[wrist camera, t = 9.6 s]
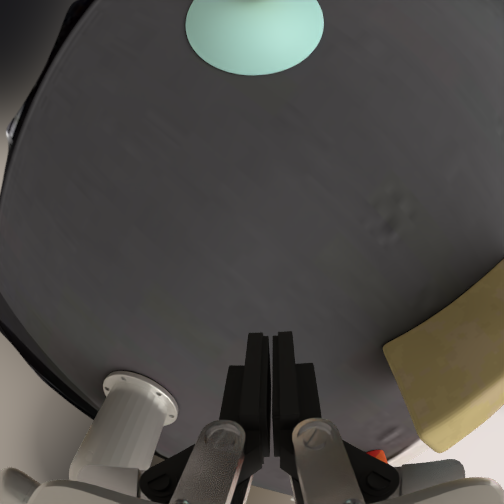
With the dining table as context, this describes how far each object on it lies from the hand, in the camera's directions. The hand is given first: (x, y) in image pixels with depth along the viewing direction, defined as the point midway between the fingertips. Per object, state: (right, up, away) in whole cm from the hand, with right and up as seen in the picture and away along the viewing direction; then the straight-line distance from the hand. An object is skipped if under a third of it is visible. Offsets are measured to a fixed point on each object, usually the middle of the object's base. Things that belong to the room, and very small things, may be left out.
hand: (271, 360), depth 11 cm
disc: (-1, +26, +8) cm, 27 cm away
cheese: (+26, -3, +18) cm, 32 cm away
